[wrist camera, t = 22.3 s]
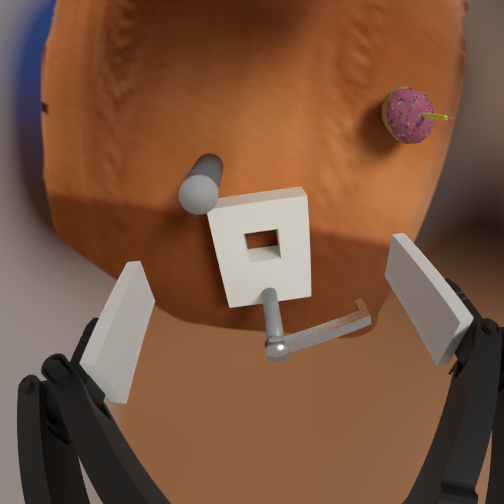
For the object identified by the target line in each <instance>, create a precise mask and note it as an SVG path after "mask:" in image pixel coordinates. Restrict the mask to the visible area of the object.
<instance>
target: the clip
mask: <svg viewBox="0 0 504 504" xmlns="http://www.w3.org/2000/svg"><path fill="white" fill-rule="evenodd" d="M355 303H356V308H357V312H354V313H352V314H349V315H346V316H344V317H341V318H338V319H335V320H333V321H330V322H327V323H324V324H321V325H318V326H316V327H313V328H310V329H307V330H304V331H301V332H298V333H294V334H291V335H288V336H285V337H282V336H273V337H271V338H269V339H267V340H266V342H265V353H266V358H267V359H268V360H269V361H272V362H280V361H284V360H286V359H287V358H288V357H289V356H290V352H293V351H296V350H300V349H303V348H306V347H309V346H312V345H315V344H318V343H321V342H324V341H327V340H330V339H333V338H336V337H339V336H341V335H344V334H347V333H350V332H352V331H355V330H358V329H360V328H363V327H365V326H368V325H370V324H371V317H370V314H369V312H368V310H367V308H366V306H365V304H364V302H363V300H362V298H361V299H358V300H356V301H355Z"/></svg>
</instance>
